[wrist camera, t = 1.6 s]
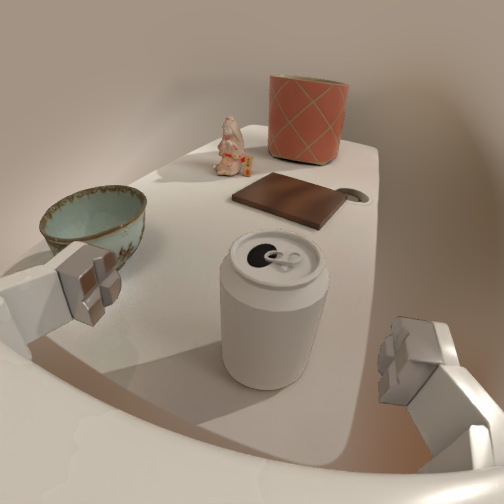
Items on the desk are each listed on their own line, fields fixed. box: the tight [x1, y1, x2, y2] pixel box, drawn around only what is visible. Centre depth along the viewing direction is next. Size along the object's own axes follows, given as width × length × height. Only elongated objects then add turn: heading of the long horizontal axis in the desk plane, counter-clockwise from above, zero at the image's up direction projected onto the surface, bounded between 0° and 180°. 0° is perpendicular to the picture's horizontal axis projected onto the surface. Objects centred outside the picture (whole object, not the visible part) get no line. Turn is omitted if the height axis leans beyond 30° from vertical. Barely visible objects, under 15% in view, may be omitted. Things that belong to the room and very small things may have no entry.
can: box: [220, 229, 330, 390], centre depth 24 cm, size 8×8×12 cm
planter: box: [268, 75, 349, 166], centre depth 71 cm, size 19×19×20 cm
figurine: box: [212, 116, 253, 176], centre depth 61 cm, size 9×7×12 cm
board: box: [232, 172, 348, 230], centre depth 54 cm, size 16×14×1 cm
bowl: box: [39, 185, 147, 271], centre depth 35 cm, size 14×13×8 cm
